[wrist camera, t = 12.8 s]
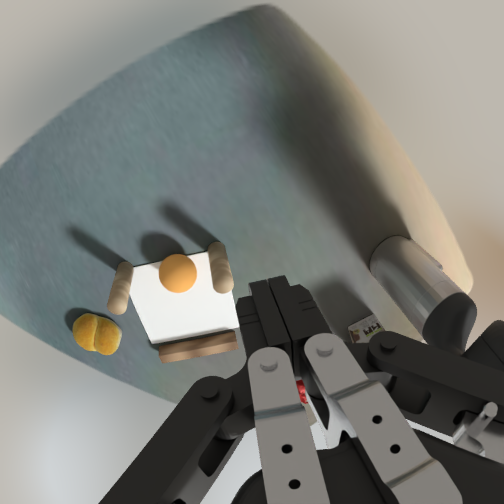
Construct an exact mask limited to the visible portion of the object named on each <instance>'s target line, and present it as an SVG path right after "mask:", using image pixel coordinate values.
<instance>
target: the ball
mask: <svg viewBox="0 0 504 504" xmlns="http://www.w3.org/2000/svg"><path fill="white" fill-rule="evenodd" d="M196 278H197V269H196V266H195V264H194V262H193V261H192V260H191V259H190V258H189V257H187V256H185V255H182V254H174V255H170V256H168V257H167V258H165V259H164V260H163V262H162V263H161V265H160V267H159V279H160V282H161V284H162V285H163V286H164V287H165V288H166V289H167V290H168V291H171V292H174V293H182V292H185V291H187V290H189V289H190V288H191V287H192V286H193V285H194V283H195V281H196Z"/></svg>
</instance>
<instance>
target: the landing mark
mask: <svg viewBox="0 0 504 504" xmlns="http://www.w3.org/2000/svg"><path fill="white" fill-rule="evenodd" d="M187 257H189V258H190V259H191V260H192V261H193V262H194V264H195V266H196V269H197V278H196V281H195V283H194V285H193V286H192V287H191V288H190V289H189V290H187V291H185V292H182V293H174V292H171V291H168V290H167V289H166V288H165V287H164V286H163V285H162V284H161V282H160V279H159V267H160V265H161V263H162V262H163V261H160V262H155V263H151V264H146V265H142V266H137V267H134V273H133V277H132V282H131V287H130V292H129V294H130V297H131V299H132V301H133V304H134V306H135V308H136V310H137V313H138V315H139V317H140V319H141V322H142V324H143V326H144V328H145V330H146V332H147V335H148V337H149V339H150V341H151V343H152V344H155V343H161V342H166V341H172V340H177V339H183V338H188V337H193V336H198V335H203V334H208V333H213V332H218V331H223V330H228V329H232V328H237V327H239V323H238V318H237V314H236V309H235V304H234V300H233V295H232V290H231V291H230V292H228V293H224V294H221V293H217V292H216V291H215V290H214V289H213V284H212V277H211V271H210V264H209V257H208V251H207V252H202V253H197V254H193V255H188V256H187Z"/></svg>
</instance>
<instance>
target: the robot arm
mask: <svg viewBox="0 0 504 504" xmlns="http://www.w3.org/2000/svg"><path fill="white" fill-rule="evenodd" d="M442 269H443V267H442V265H441V264H440V263H439V262H438V261H437V260H435V259H434V258H433V257H432V256H431V255H430V254H429V253H428V252H426V251H425V250H424V249H423V248H422V247H421V246H420V245H418V244H417V243H416V242H415V241H414V240H413V239H410V240H408V239H406V238H405V237H402V236H393V237H390V238H388V239H386V240H385V241H383V242H382V243H381V244H380V245H379V246H378V247H377V248H376V249H375V251H374V253H373V254H372V257H371V260H370V271H371V273H372V275H373V276H374V277H375V279H376V280H377V281H378V282H379V283H380V285H381V286H382V287H383V288H384V290H385V291H386V292H387V293H388V294H389V296H390V297H391V298H392V299H393V300H394V302H395V303H396V304H397V305H398V307H399V308H400V309H401V310H402V312H403V313H404V314H405V315H406V317H407V318H408V319H409V320H410V322H411V323H412V324H413V325H414V327H415V328H416V329H417V330H418V332H419V333H420V334H421V336H422V337H423V338H424V340H425V341H426V342H427V344H428V345H427V344H425V343H422V342H419V341H417V340H414V339H411V338H409V337H406V336H403V335H401V334H398V333H395V332H392V331H382V332H379V333H376V334H375V335H373V336H372V337H371V339H370V340H369V343H347V342H344V341H342V339H340V338H339V337H338V336H336V335H333V334H332V332H331V331H330V329H329V327H328V325H327V323H326V321H325V319H324V318H323V316H322V314H321V312H320V310H319V308H317V305H316V303H315V301H314V300H313V298H312V296H311V294H310V292H309V290H307V289H306V288H304V287H303V286H301V285H300V284H298V285H294V286H290V285H289V283H288V281H287V279H286V277H285V275H283V276H278V277H274V278H269V279H267V280H266V279H265V280H261V281H256V282H252V283H248V286H249V292H250V296H246V297H242V298H238V301H237V304H236V307H235V308H236V313H237V317H238V322H239V327H240V331H241V335H242V340H243V344H244V348H245V352H246V356H247V360H246V363H245V365H244V367H243V368H242V369H241V370H240V371H239V372H238V373H237V374H235V375H233V376H231V377H229V378H227V379H223V378H221V377H218V376H208V377H204V378H202V379H200V380H198V381H196V382H195V383H194V384H193V385H192V387H191V388H190V389H189V391H188V392H187V393H186V394H185V396H184V397H183V398H182V400H181V401H180V402H179V404H178V405H177V406H176V408H175V409H174V410H173V411H172V413H171V414H170V415H169V417H168V418H167V419H166V420H165V422H164V423H163V424H162V426H161V427H160V428H159V429H158V431H157V432H156V433H155V434H154V436H153V437H152V438H151V440H150V441H149V442H148V443H147V445H146V446H145V447H144V448H143V450H142V451H141V452H140V453H139V455H138V456H137V457H136V458H135V460H134V461H133V462H132V463H131V465H130V466H129V467H128V468H127V470H126V471H125V472H124V473H123V474H122V476H121V477H120V478H119V480H118V481H117V482H116V483H115V484H114V486H113V487H112V488H111V489H110V491H109V492H108V493H107V494H106V495H105V496H104V498H103V499H102V500H101V501H100V502H99V504H200V502H201V501H202V499H203V498H204V497H205V495H206V494H207V492H208V491H209V489H210V488H211V486H212V485H213V483H214V482H215V480H216V479H217V477H218V476H219V474H220V472H221V471H222V470H223V468H224V466H225V465H226V463H227V462H228V460H229V459H230V457H231V455H232V454H233V452H234V451H235V449H236V447H237V446H238V444H239V443H240V441H241V440H242V438H243V435H244V433H245V432H247V431H249V430H251V429H253V428H254V427H256V433H257V440H258V446H259V453H260V459H261V465H262V469H261V470H259V471H258V472H256V473H255V474H253V475H252V476H251V477H250V478H249V479H248V480H247V481H246V482H245V483H244V484H243V485H242V486H241V488H240V489H239V491H238V492H237V494H236V496H235V497H234V499H233V501H232V503H231V504H504V321H501V320H497V321H494V322H493V323H492V324H491V325H490V326H489V327H488V328H487V329H486V330H485V331H484V332H483V333H482V334H481V336H479V337H478V339H477V340H476V341H475V342H474V343H473V344H472V345H471V346H470V347H469V349H467V350H466V351H465V347H466V343H467V339H468V337H469V334H470V332H471V330H472V327H473V325H474V323H475V320H476V316H477V308H476V305H475V303H474V302H473V300H472V299H471V298H470V297H469V296H468V295H467V294H465V293H464V292H463V291H462V290H461V289H460V288H459V287H458V286H457V285H456V284H455V283H454V282H453V281H452V280H451V279H450V278H449V277H448V276H447V275H446V274H445V273H444V272H443V271H442ZM298 380H302V381H303V383H304V386H305V396H306V398H307V400H308V402H309V404H310V406H311V408H312V411H313V413H314V415H315V417H316V419H317V421H318V423H319V425H320V427H321V429H322V431H323V433H324V436H325V439H326V443H327V447H328V449H323V450H316V448H315V444H314V440H313V436H312V432H311V429H310V425H309V421H308V417H307V414H306V410H305V408H304V406H302V404H301V400H300V397H299V393H298V389H297V385H296V381H298ZM406 419H408V420H410V421H412V422H415V423H418V424H420V425H422V426H425V427H427V428H430V429H433V430H435V431H437V432H440V433H443V434H446V435H448V436H451V437H453V442H454V445H453V444H451V443H448V442H446V441H443V440H441V439H439V438H436V437H434V436H432V435H429V434H427V433H425V432H422V431H420V430H417V429H414V428H411V427H410V425H409V423H408V422H407V420H406Z"/></svg>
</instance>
